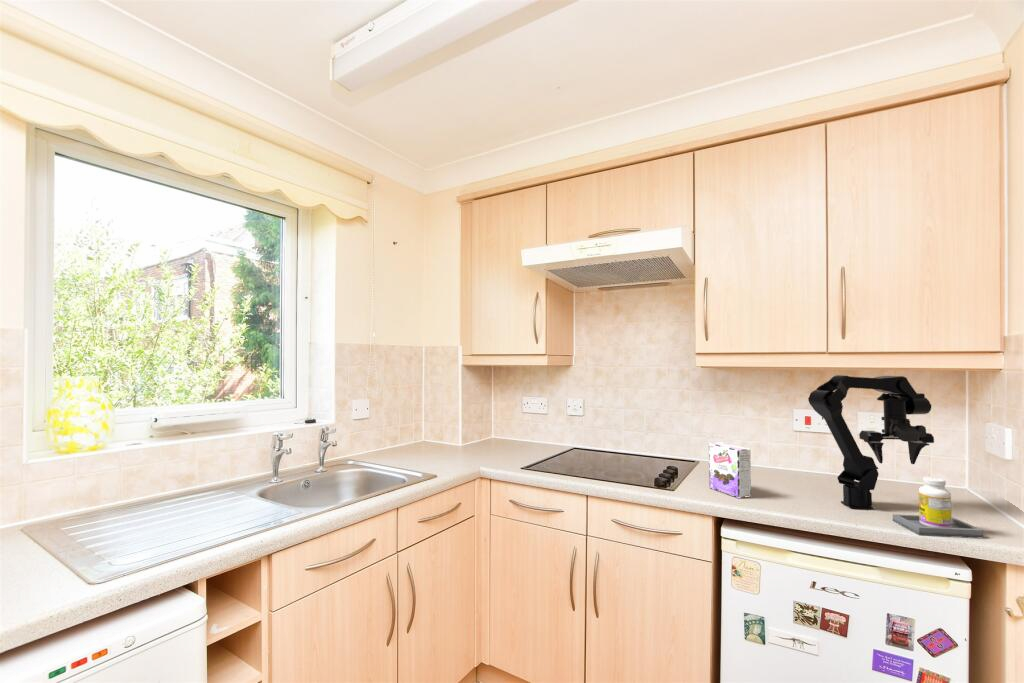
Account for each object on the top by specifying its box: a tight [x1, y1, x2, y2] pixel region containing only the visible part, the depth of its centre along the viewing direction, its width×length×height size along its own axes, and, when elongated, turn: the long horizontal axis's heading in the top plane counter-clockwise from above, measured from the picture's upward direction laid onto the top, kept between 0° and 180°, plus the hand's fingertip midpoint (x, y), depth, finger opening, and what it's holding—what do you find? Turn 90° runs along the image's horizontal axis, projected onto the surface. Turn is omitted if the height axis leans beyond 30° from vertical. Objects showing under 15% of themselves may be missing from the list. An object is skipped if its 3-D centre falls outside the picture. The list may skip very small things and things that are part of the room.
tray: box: [892, 513, 984, 539], centre depth 131 cm, size 15×11×2 cm
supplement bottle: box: [918, 476, 952, 528], centre depth 131 cm, size 7×7×13 cm
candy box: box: [708, 441, 752, 498], centre depth 167 cm, size 14×6×16 cm, turn 20°
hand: (896, 463), depth 153 cm, fingers open, 9 cm apart
